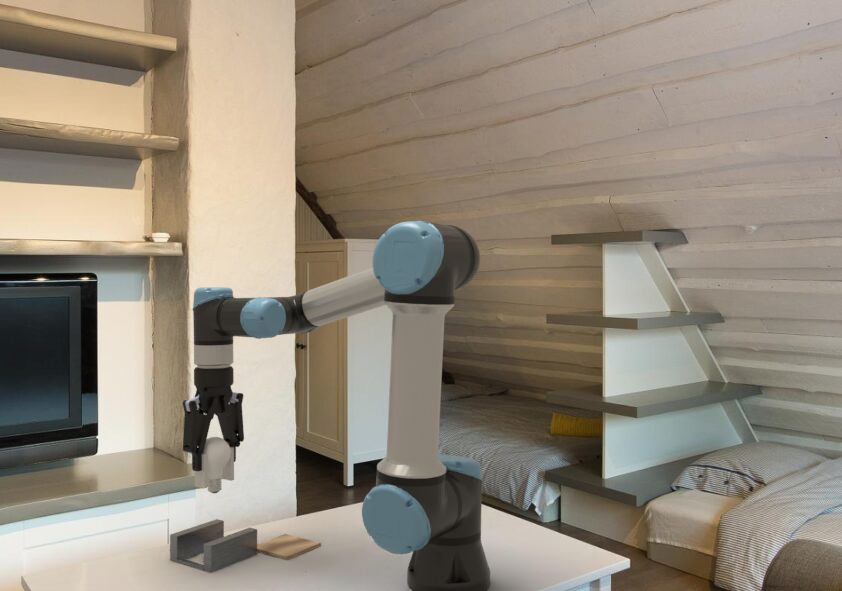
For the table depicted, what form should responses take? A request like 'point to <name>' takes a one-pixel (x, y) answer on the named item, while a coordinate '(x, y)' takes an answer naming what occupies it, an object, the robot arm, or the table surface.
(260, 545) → the cork pad
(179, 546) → the housing
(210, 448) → the lightbulb
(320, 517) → the table surface
